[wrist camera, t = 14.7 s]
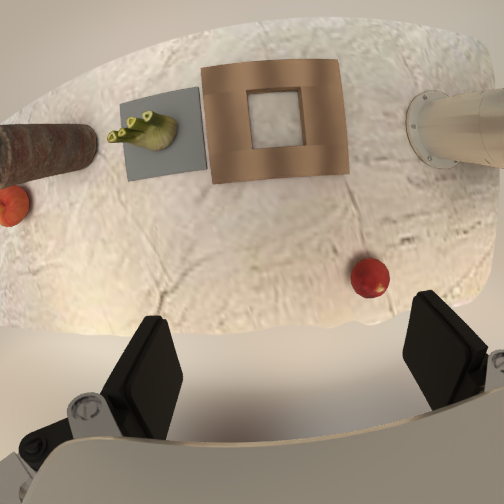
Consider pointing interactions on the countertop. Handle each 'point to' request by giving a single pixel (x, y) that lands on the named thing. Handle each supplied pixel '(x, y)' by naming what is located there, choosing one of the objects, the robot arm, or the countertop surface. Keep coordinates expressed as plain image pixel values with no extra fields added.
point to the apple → (13, 205)
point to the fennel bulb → (147, 131)
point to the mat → (184, 144)
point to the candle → (43, 151)
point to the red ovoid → (370, 278)
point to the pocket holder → (311, 111)
